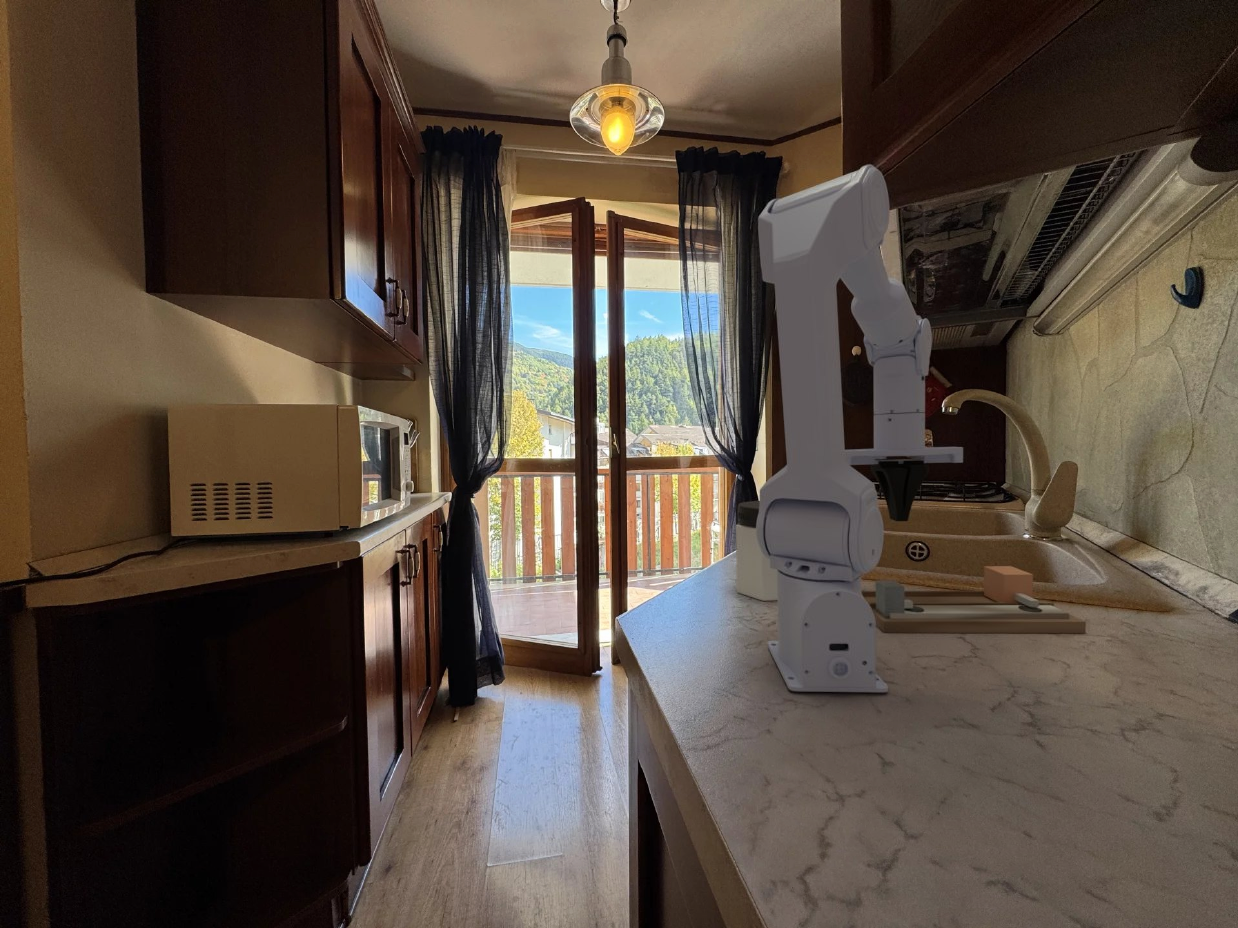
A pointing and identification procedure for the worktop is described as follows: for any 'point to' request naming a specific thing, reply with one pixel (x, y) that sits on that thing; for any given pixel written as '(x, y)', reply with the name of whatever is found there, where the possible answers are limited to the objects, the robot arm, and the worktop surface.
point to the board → (972, 615)
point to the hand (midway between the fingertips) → (898, 520)
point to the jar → (753, 557)
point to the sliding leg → (1009, 585)
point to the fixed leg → (890, 598)
